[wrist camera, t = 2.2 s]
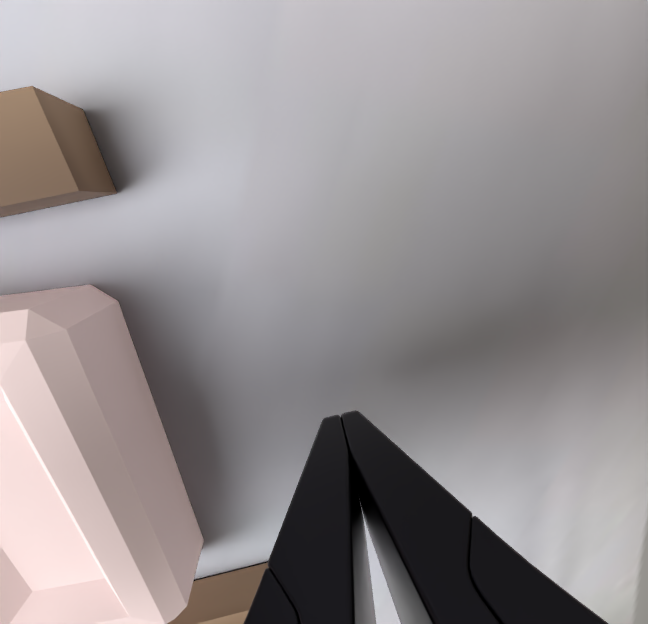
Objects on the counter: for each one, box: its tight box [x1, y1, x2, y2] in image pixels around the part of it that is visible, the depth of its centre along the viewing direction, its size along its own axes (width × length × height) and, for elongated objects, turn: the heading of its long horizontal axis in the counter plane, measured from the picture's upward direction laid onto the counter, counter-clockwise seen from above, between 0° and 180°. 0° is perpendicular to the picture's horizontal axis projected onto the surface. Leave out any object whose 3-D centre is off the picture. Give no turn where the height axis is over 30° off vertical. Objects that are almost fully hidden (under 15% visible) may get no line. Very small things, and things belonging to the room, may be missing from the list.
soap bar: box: [0, 284, 204, 624], centre depth 7 cm, size 5×9×2 cm, turn 6°
